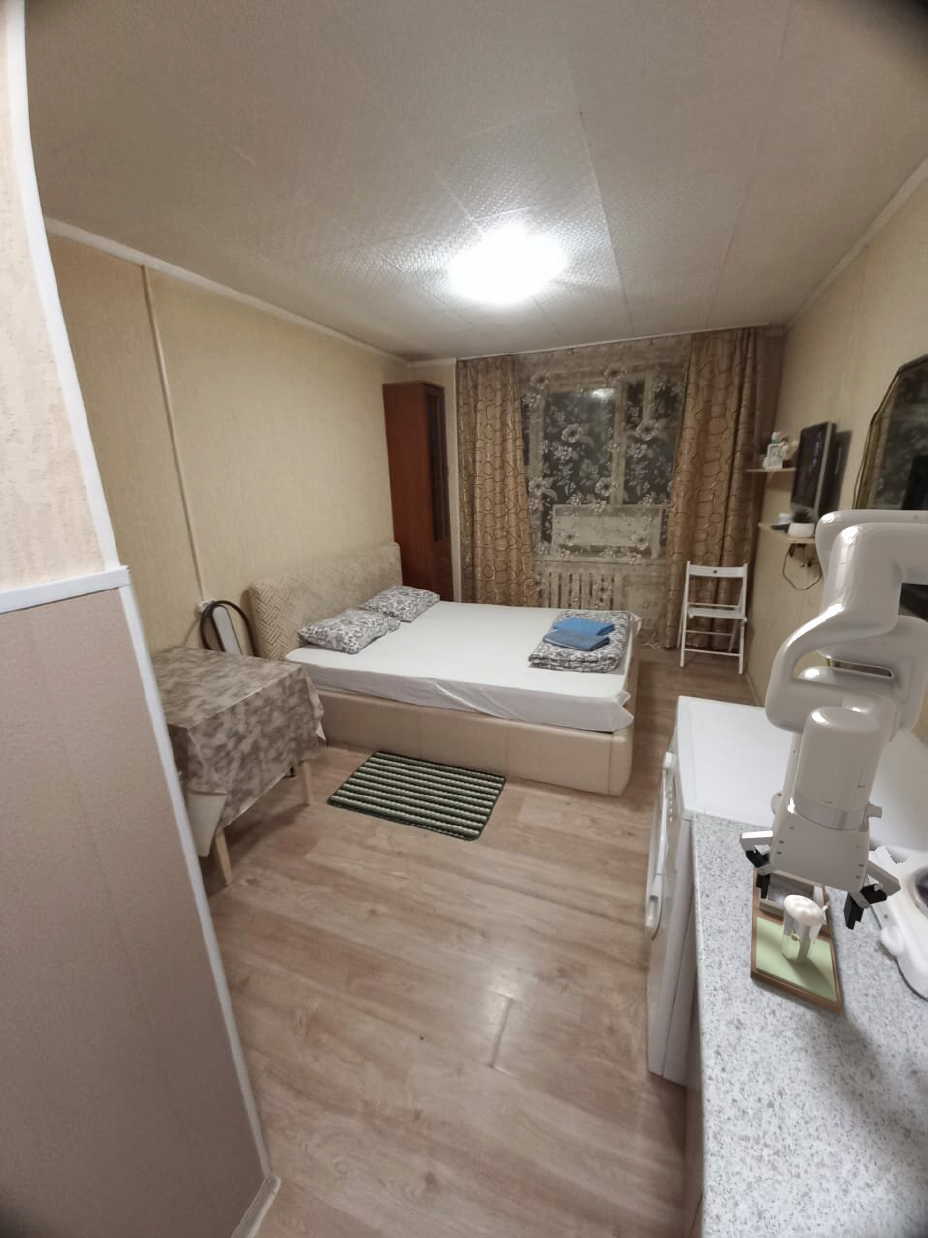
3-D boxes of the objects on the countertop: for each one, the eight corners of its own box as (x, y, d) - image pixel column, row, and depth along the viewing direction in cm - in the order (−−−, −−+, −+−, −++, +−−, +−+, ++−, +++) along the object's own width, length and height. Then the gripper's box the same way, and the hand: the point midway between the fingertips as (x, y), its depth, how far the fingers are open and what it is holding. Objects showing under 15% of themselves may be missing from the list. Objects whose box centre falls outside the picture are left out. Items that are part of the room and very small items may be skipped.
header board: (753, 867, 85) (755, 856, 84) (823, 890, 80) (826, 878, 80) (750, 977, 67) (752, 963, 67) (839, 1015, 62) (843, 1001, 62)
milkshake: (827, 972, 66) (841, 916, 63) (784, 967, 67) (796, 911, 64) (809, 941, 70) (822, 887, 67) (769, 937, 71) (780, 883, 68)
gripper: (910, 806, 60) (879, 910, 65) (748, 768, 68) (733, 863, 74) (926, 847, 54) (891, 959, 59) (747, 800, 62) (730, 901, 68)
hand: (804, 905), depth 66 cm, fingers open, 9 cm apart
